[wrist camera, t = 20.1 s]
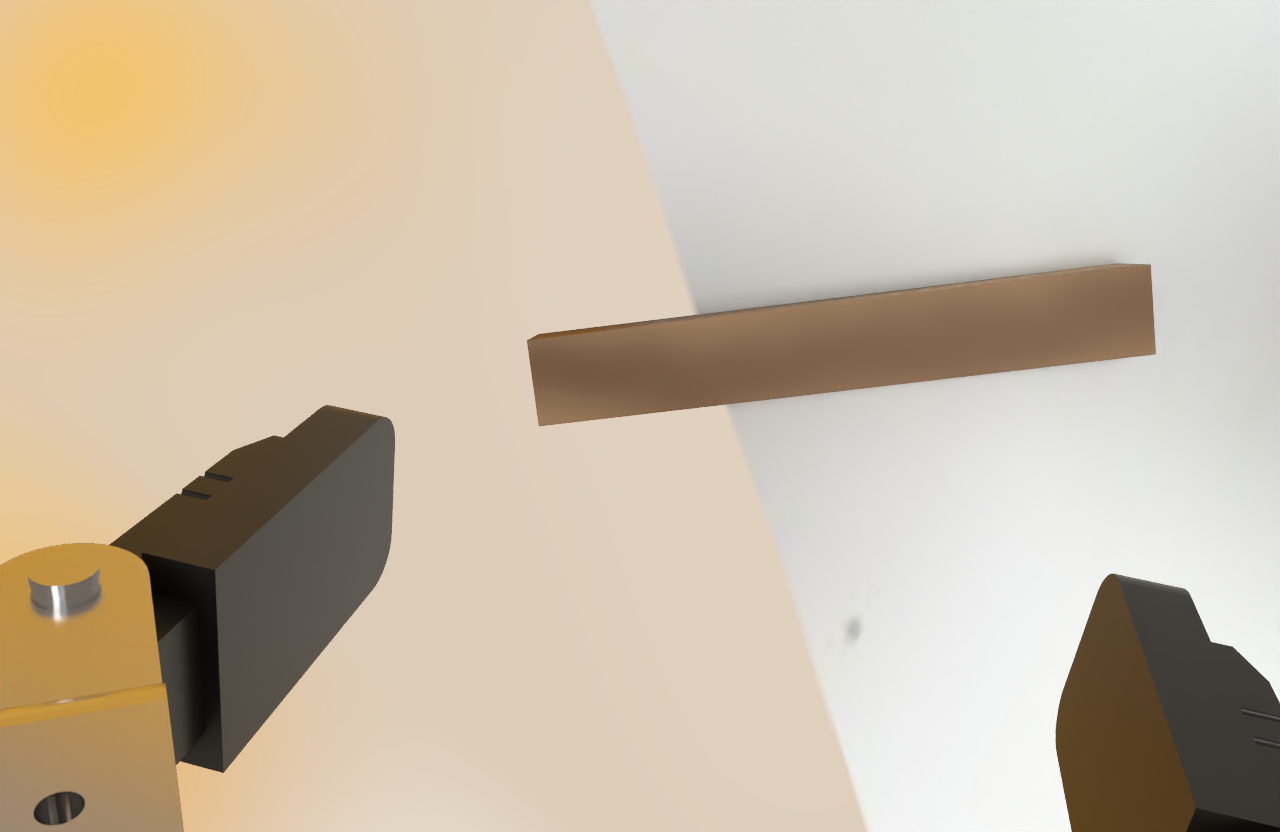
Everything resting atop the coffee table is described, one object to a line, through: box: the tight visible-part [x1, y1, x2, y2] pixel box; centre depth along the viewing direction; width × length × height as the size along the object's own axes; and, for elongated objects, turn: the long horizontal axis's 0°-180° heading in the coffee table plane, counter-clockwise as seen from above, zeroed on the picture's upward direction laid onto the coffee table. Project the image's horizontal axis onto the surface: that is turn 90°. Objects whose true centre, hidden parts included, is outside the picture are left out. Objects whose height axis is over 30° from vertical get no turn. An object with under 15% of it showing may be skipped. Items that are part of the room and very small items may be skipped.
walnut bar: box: [527, 264, 1156, 426], centre depth 39 cm, size 3×21×3 cm, turn 97°
